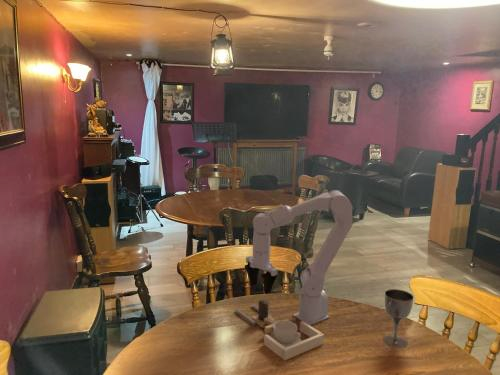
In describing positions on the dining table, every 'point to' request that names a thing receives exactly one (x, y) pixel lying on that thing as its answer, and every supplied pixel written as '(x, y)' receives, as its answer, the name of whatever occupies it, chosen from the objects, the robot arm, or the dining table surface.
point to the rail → (248, 316)
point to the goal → (297, 348)
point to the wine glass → (397, 313)
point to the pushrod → (265, 317)
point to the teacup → (285, 333)
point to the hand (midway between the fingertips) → (260, 289)
